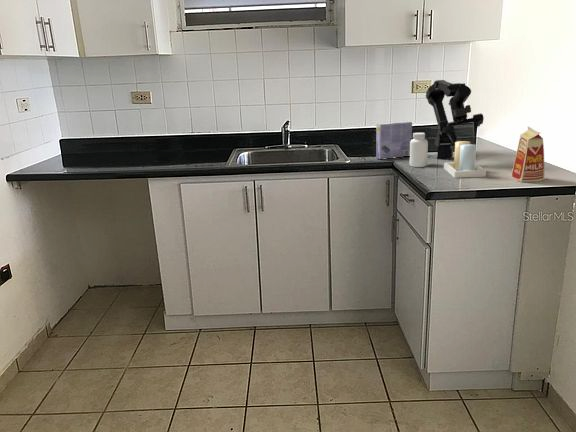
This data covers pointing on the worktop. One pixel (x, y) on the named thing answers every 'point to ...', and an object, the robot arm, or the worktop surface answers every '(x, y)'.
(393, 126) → the cake pan box
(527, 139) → the milk carton
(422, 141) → the pill bottle
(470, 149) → the pale blue cylinder
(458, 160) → the beige tall cylinder
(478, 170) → the white rectangular tray
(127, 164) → the worktop surface
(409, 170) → the worktop surface
